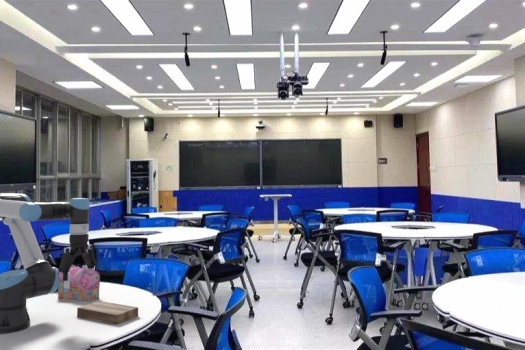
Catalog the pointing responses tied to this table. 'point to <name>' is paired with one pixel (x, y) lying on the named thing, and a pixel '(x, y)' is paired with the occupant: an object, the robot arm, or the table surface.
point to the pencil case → (81, 278)
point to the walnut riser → (107, 312)
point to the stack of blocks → (78, 293)
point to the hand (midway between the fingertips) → (77, 285)
